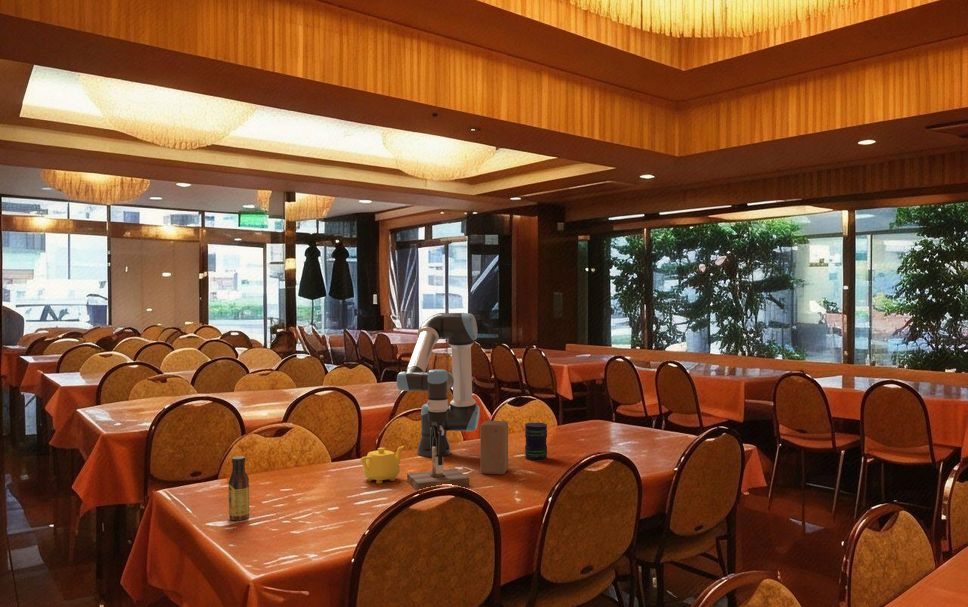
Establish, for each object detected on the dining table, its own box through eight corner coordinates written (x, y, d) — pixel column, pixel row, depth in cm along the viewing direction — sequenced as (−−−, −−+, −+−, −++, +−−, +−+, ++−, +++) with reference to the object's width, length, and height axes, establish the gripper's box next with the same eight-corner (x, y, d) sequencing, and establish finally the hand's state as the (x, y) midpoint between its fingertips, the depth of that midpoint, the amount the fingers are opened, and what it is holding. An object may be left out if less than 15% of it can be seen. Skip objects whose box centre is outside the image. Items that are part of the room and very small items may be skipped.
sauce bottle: (231, 515, 225) (231, 454, 225) (251, 515, 225) (251, 454, 225) (226, 522, 218) (225, 459, 218) (246, 521, 219) (246, 458, 219)
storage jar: (521, 459, 302) (521, 425, 302) (528, 455, 311) (528, 421, 311) (543, 461, 298) (543, 427, 298) (550, 456, 307) (550, 423, 307)
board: (407, 481, 266) (407, 473, 266) (456, 476, 274) (456, 468, 274) (417, 491, 252) (417, 483, 252) (469, 486, 260) (469, 478, 260)
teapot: (413, 478, 271) (413, 446, 271) (371, 487, 258) (371, 454, 258) (393, 472, 281) (393, 441, 281) (351, 480, 268) (351, 448, 268)
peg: (430, 483, 264) (430, 446, 264) (441, 482, 266) (441, 445, 266) (433, 485, 260) (433, 448, 260) (444, 484, 262) (444, 447, 262)
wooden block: (504, 475, 275) (504, 425, 275) (479, 474, 277) (479, 424, 277) (508, 469, 285) (508, 420, 285) (484, 468, 287) (484, 420, 287)
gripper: (421, 407, 269) (421, 467, 269) (434, 414, 254) (434, 478, 254) (440, 406, 272) (440, 466, 272) (454, 413, 256) (454, 476, 256)
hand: (437, 471), depth 263 cm, fingers closed on peg, 4 cm apart
